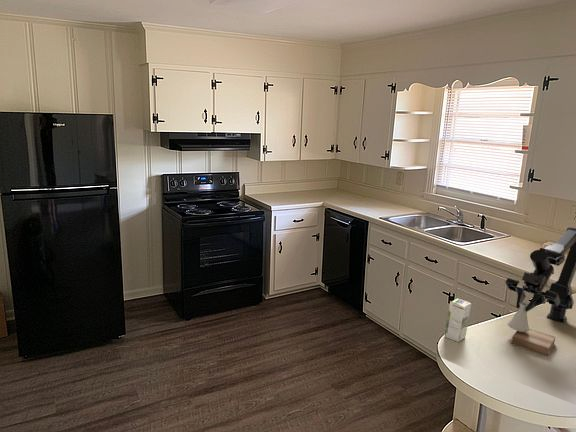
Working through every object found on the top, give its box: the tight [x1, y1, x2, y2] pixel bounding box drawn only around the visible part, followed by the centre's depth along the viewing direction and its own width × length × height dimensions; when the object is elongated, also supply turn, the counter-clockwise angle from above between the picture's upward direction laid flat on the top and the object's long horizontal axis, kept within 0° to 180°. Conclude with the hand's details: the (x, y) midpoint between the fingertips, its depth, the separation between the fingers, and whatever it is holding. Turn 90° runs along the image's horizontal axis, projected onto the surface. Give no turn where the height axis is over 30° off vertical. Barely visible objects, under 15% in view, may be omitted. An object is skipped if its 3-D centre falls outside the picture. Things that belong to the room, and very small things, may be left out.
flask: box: [507, 302, 530, 332], centre depth 169 cm, size 7×7×10 cm
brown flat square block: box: [510, 328, 556, 357], centre depth 167 cm, size 12×12×3 cm
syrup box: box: [444, 298, 472, 343], centre depth 167 cm, size 6×6×14 cm
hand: (521, 309), depth 167 cm, fingers closed on flask, 3 cm apart
